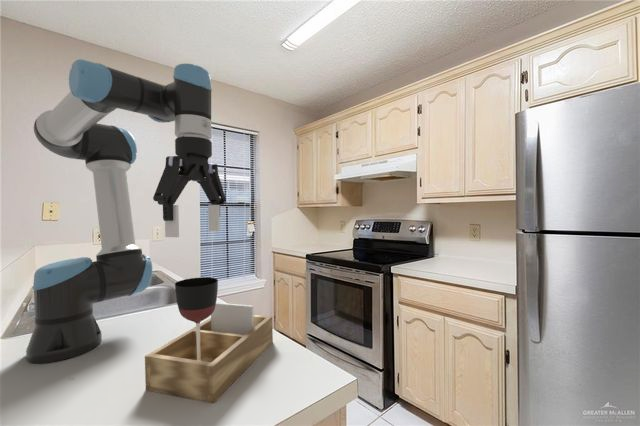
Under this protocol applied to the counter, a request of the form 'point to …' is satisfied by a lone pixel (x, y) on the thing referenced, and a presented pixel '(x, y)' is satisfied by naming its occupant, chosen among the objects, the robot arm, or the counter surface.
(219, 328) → the white flat panel
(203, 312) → the wineglass
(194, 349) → the wooden divided tray
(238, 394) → the counter surface
